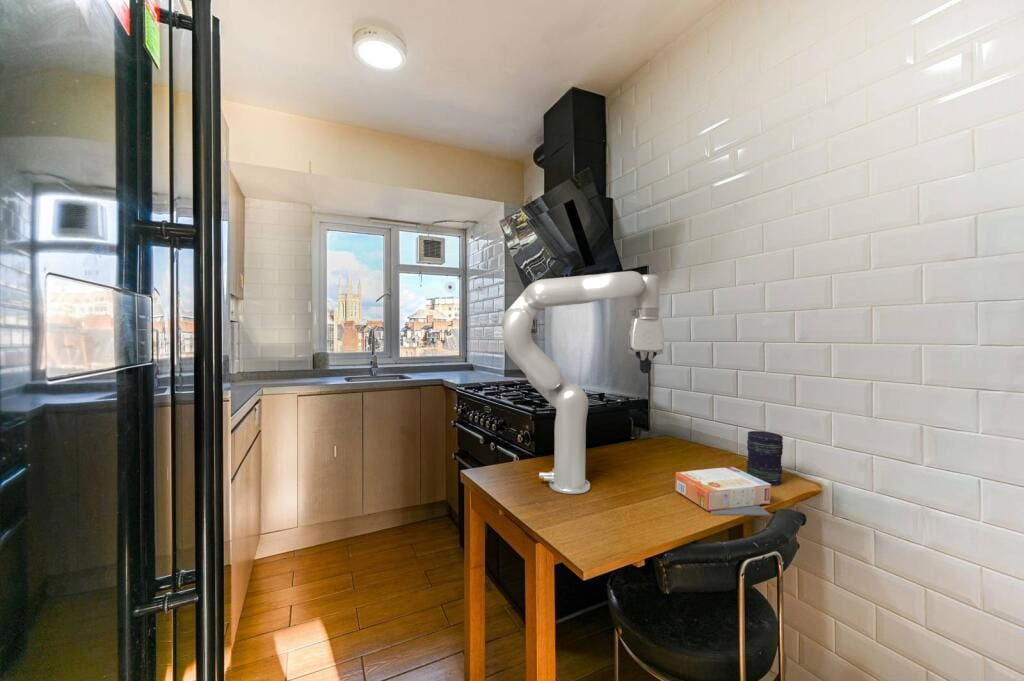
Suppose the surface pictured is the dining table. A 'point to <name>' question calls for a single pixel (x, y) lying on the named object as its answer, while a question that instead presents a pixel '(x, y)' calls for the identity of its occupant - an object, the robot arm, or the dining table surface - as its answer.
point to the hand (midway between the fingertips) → (645, 372)
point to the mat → (742, 511)
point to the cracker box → (722, 488)
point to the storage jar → (765, 456)
